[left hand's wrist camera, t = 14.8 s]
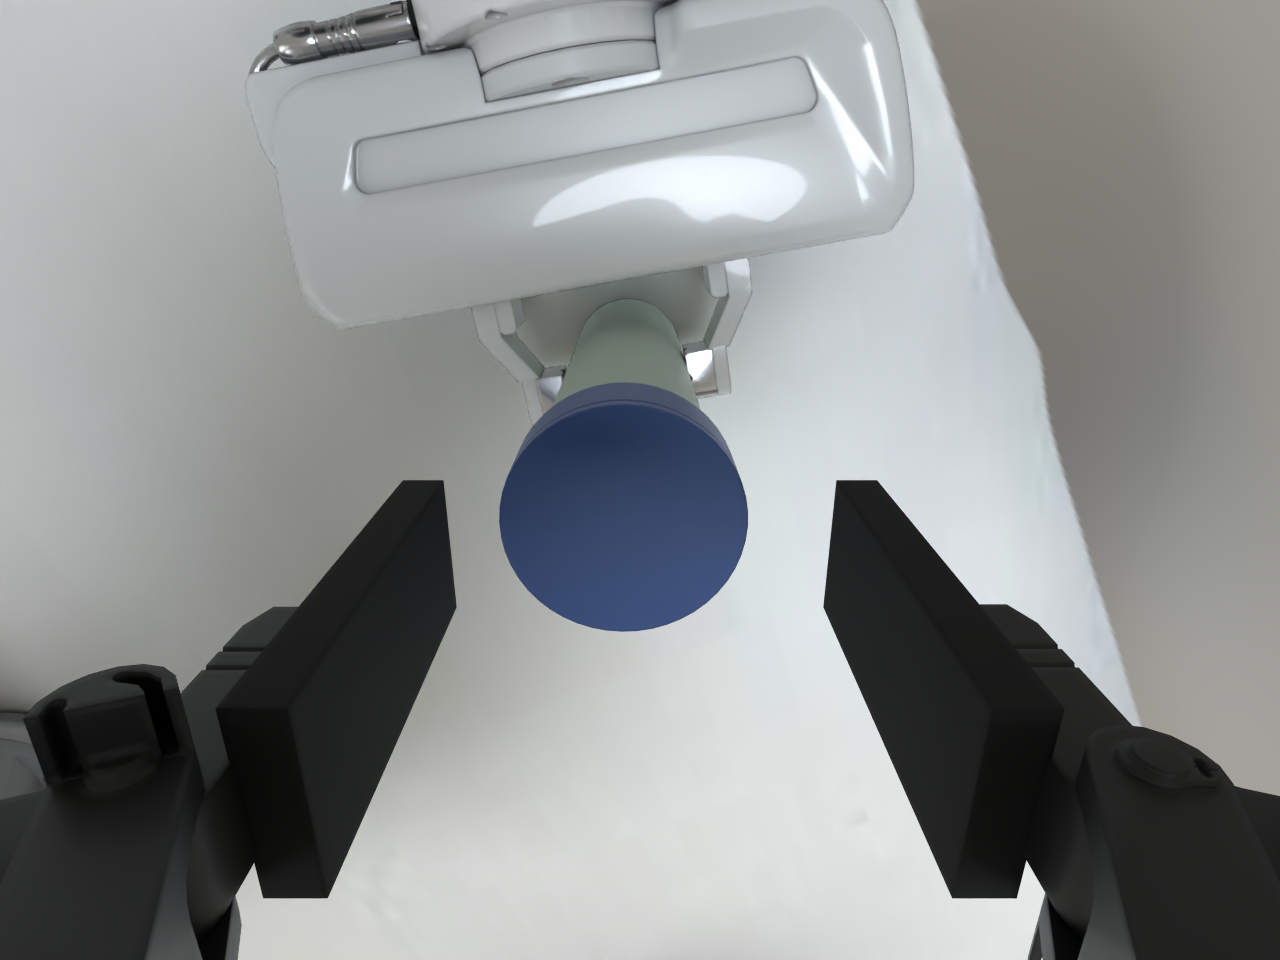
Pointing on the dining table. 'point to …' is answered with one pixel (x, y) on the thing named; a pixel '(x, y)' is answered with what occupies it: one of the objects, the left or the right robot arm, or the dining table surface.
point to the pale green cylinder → (628, 351)
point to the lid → (623, 508)
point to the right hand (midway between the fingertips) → (633, 406)
